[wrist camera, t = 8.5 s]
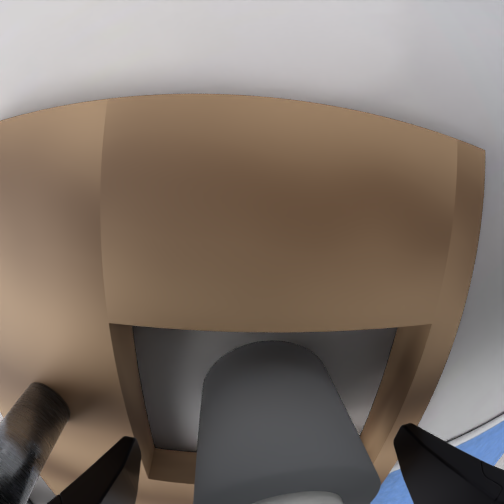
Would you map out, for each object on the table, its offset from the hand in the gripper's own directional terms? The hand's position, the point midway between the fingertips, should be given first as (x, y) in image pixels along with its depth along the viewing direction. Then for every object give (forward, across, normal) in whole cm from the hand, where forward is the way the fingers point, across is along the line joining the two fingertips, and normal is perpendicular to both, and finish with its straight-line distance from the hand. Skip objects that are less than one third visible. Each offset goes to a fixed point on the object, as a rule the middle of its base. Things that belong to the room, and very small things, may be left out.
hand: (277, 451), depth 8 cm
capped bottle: (+3, 0, 0) cm, 3 cm away
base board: (+3, +3, 0) cm, 4 cm away
